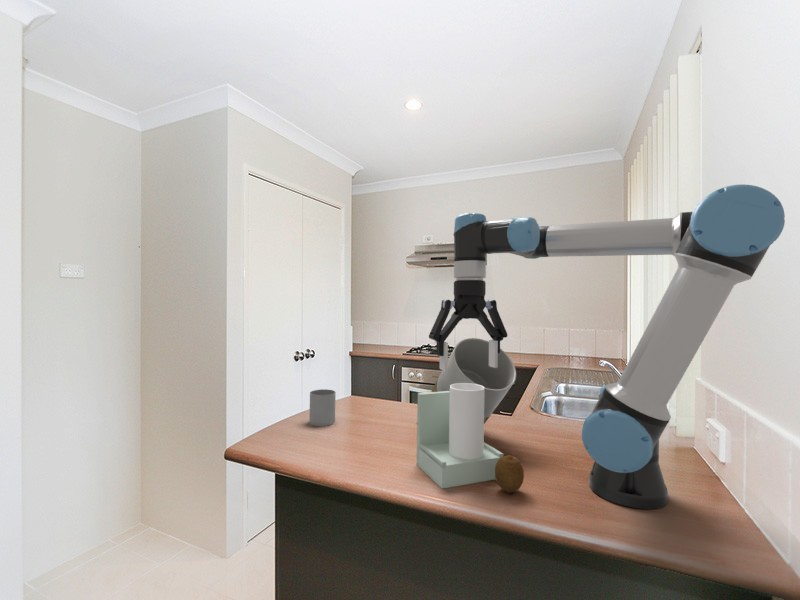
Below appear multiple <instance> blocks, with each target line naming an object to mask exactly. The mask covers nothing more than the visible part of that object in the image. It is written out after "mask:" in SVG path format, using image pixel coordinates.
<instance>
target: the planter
mask: <svg viewBox="0 0 800 600" xmlns="http://www.w3.org/2000/svg"><path fill="white" fill-rule="evenodd" d="M448 357H449V358H448V371H443V370H441V373H440V374H439V376H438V378H437V380H436V381H435V384H434V385H433V387H432V389H431V391H430V392H441V391H450V385H452V384H456V383H471V384H478V385H481V386H484V389H485V393H484V425H485V424H486V423H487V421H488V419H490V417H491V415H493V413H494V411H495V410H496V409H497V407H498V406H499V405H500V403H501V401H502V400H503V399H504V398H505V396H506V395H507V394H508V392H509V391H510V389H511V387H512V386H513V385H514V384H515V382H516V380H517V370H516V369H517V368H516V366H515V364H514V362H513V360H512V358H511V357H510V356H509V354H508V353H506V351H504V350H503V349H502V348H501V347H500V353H498V368H494V367H490V366H489V340H487V339H483V338H482V339H481V338H479V337H478V338H477V337H471V338H470V337H469V338H463V339H462V340H460V341H459V342H458V343H456V345H455V346H454V348H453V350H452V352H451V354H450V355H449V356H448Z"/></svg>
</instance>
